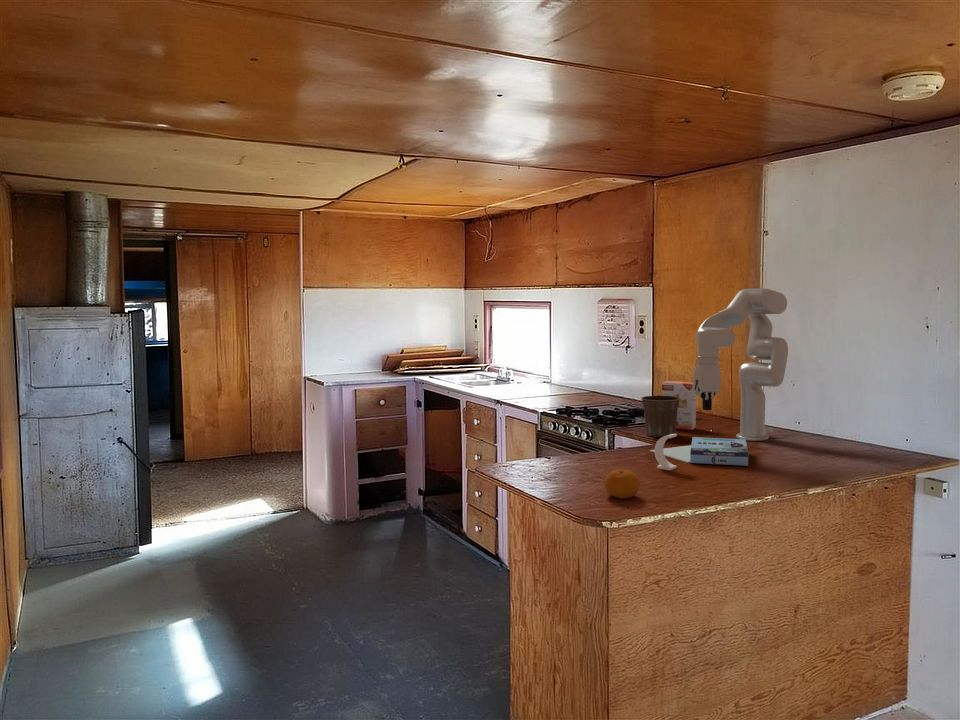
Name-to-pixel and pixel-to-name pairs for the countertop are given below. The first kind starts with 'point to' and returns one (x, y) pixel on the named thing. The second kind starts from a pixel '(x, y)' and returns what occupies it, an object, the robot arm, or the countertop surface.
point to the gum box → (719, 451)
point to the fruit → (622, 483)
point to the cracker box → (682, 402)
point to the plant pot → (660, 415)
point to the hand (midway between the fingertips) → (707, 409)
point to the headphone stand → (660, 454)
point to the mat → (678, 453)
